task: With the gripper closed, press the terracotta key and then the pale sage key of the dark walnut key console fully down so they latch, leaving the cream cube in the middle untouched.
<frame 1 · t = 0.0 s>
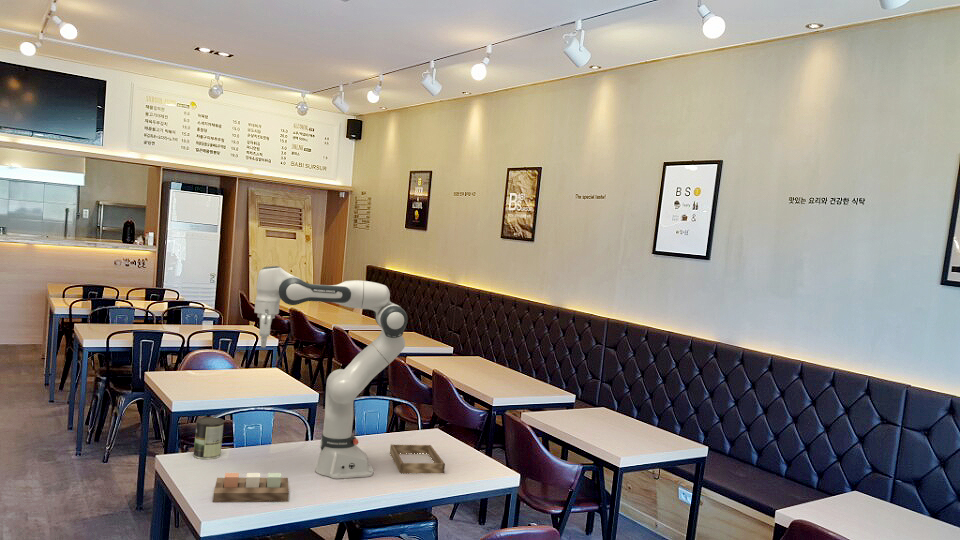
hand: (263, 345, 257), 48 cm above the table, fingers open, 8 cm apart
cream cube: (252, 480, 236), point 5 cm above the table, slide at 0.0 cm
coffee can: (207, 456, 270), on the table
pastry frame: (415, 463, 287), on the table
key sage: (273, 480, 238), point 5 cm above the table, slide at 0.0 cm
key terracotta: (231, 480, 233), point 5 cm above the table, slide at 0.0 cm
console: (251, 493, 236), on the table
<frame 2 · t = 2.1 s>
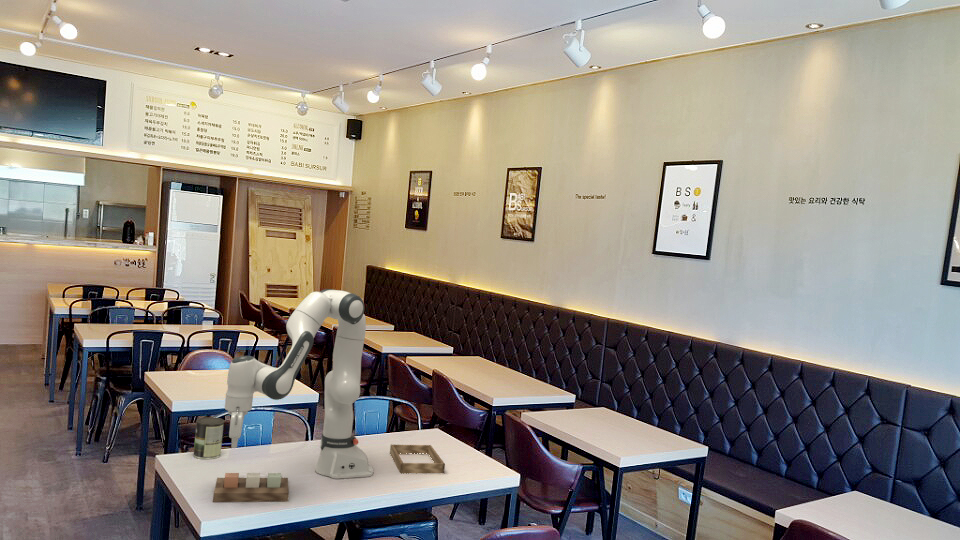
hand: (234, 443, 233), 17 cm above the table, fingers open, 7 cm apart
nothing on the table moved.
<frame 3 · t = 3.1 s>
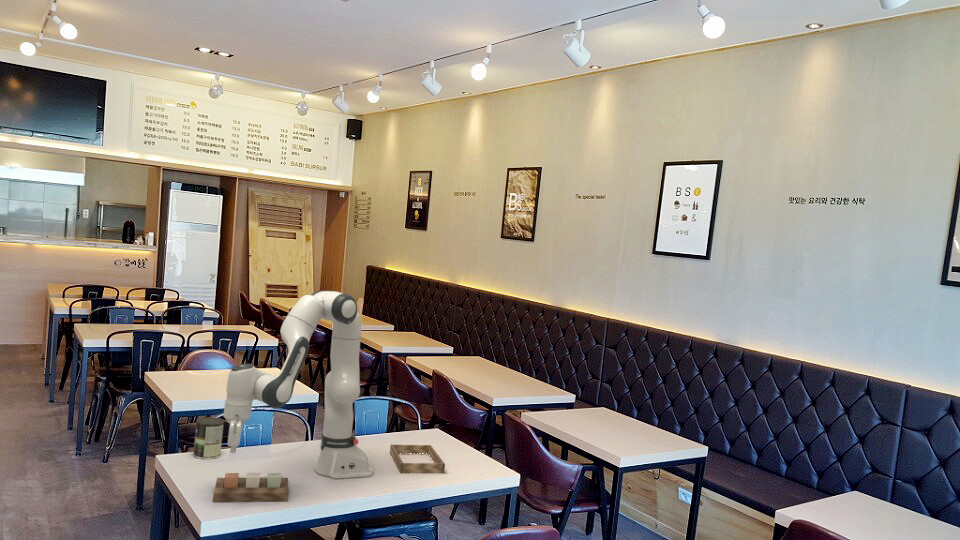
hand: (233, 451, 233), 15 cm above the table, fingers closed
nothing on the table moved.
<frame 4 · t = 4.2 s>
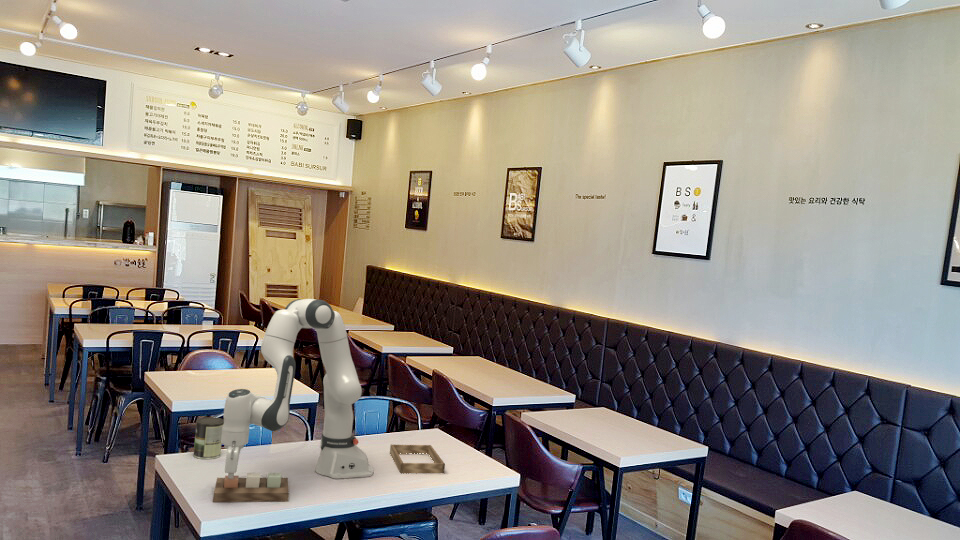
hand: (230, 477, 233), 6 cm above the table, fingers closed, pressing on key terracotta
key terracotta: (231, 482, 233), point 4 cm above the table, slide at 0.9 cm, touching gripper
everything else where it was.
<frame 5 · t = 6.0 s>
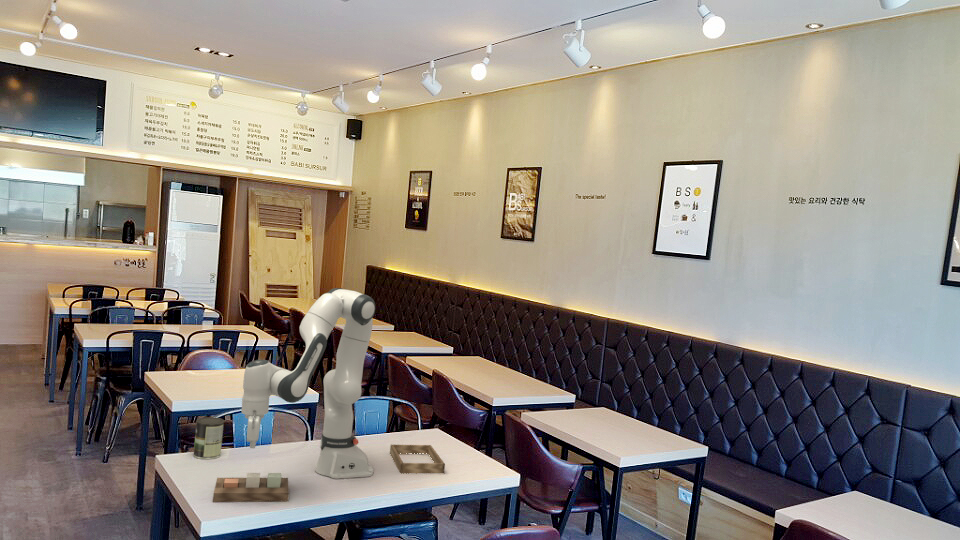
hand: (252, 447, 235), 16 cm above the table, fingers closed
key terracotta: (230, 485, 233), point 3 cm above the table, slide at 2.0 cm
everything else where it was.
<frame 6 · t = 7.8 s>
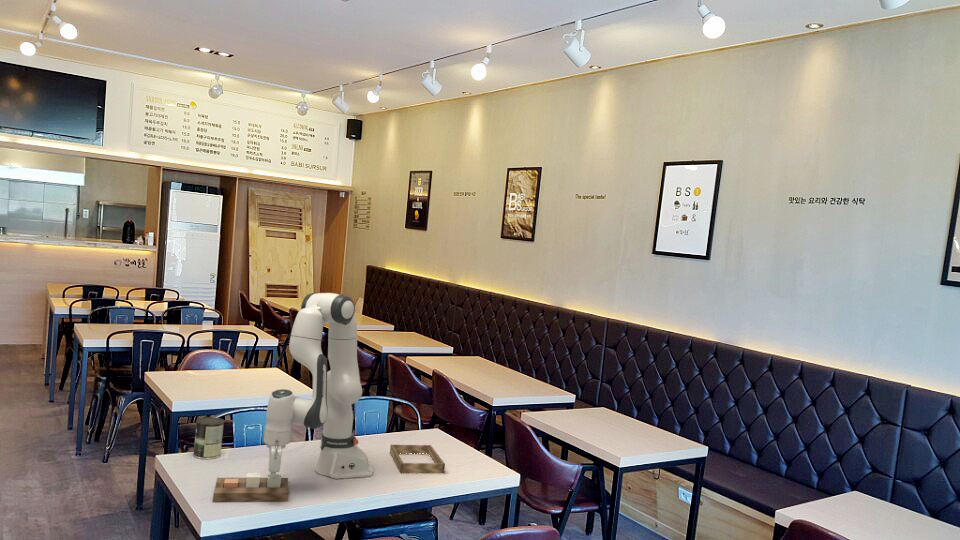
hand: (272, 476, 237), 6 cm above the table, fingers closed, pressing on key sage
key sage: (273, 481, 238), point 4 cm above the table, slide at 0.5 cm, touching gripper
everything else where it was.
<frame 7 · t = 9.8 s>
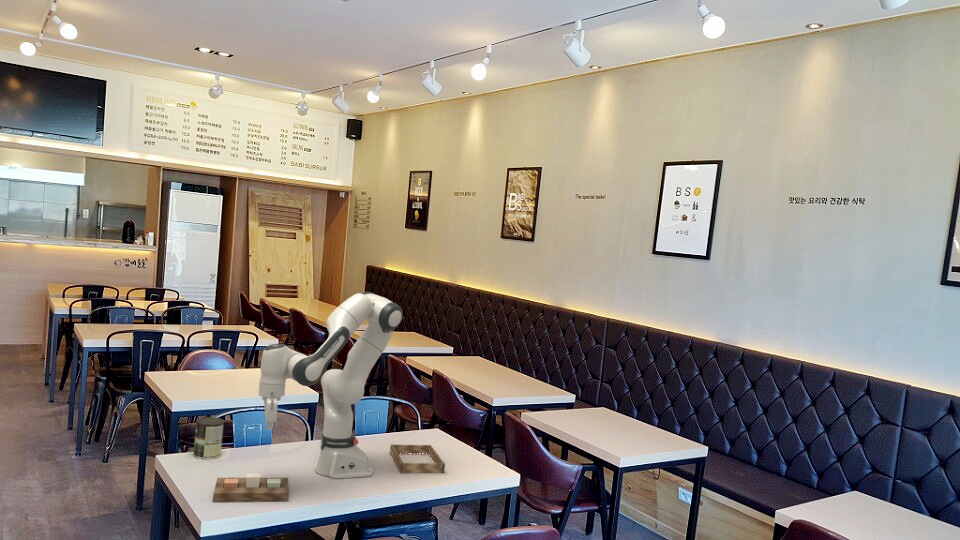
hand: (269, 428, 241), 21 cm above the table, fingers closed
key sage: (273, 485, 238), point 3 cm above the table, slide at 2.0 cm
everything else where it was.
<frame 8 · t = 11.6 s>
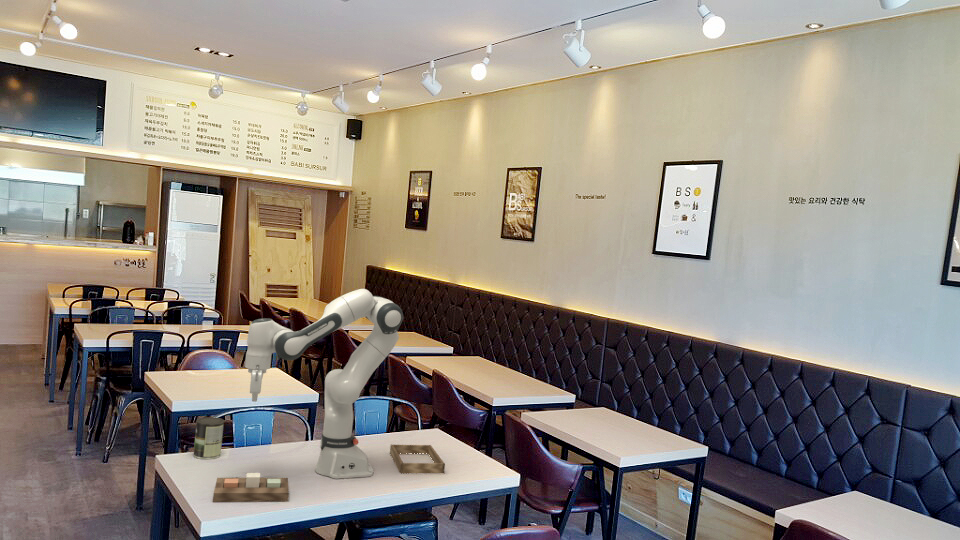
hand: (254, 400, 248), 29 cm above the table, fingers closed
nothing on the table moved.
at the end: key terracotta slide at 2.0 cm; key sage slide at 2.0 cm; cream cube slide at 0.0 cm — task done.
